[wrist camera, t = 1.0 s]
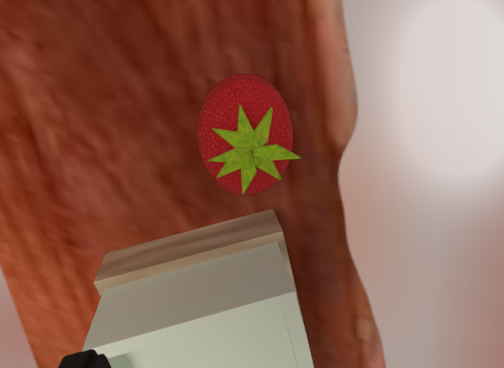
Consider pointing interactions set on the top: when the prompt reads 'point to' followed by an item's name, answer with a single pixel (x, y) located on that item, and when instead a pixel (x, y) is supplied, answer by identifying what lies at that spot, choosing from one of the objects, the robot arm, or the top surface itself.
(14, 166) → the top surface
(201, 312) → the sage top block
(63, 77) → the top surface
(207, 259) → the maple base block
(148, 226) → the top surface
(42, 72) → the top surface
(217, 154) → the strawberry
